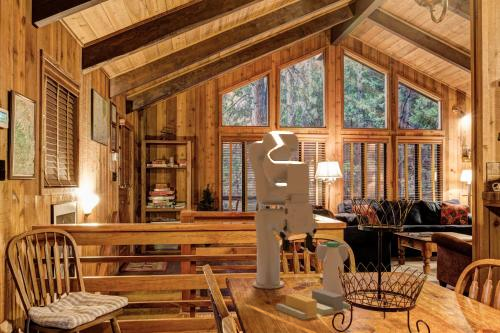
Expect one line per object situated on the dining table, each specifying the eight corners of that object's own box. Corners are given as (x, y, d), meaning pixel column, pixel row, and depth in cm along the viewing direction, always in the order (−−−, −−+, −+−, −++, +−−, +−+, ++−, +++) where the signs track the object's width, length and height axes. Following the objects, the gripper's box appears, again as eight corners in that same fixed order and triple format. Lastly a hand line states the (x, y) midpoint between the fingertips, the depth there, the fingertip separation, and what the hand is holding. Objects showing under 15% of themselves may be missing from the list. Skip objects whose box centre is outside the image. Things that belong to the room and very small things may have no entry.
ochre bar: (285, 308, 156) (285, 294, 156) (295, 306, 158) (295, 293, 158) (306, 316, 146) (306, 301, 146) (316, 314, 148) (316, 300, 148)
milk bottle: (343, 298, 172) (343, 243, 172) (322, 297, 173) (322, 243, 174) (343, 293, 179) (343, 241, 180) (323, 292, 181) (323, 240, 181)
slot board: (276, 311, 155) (276, 303, 155) (324, 302, 166) (324, 295, 166) (302, 322, 143) (302, 314, 143) (353, 312, 154) (352, 304, 154)
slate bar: (311, 303, 161) (311, 290, 161) (320, 302, 163) (320, 289, 163) (333, 311, 152) (333, 297, 152) (343, 309, 154) (342, 295, 154)
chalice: (352, 276, 211) (352, 243, 211) (342, 282, 199) (342, 247, 199) (323, 273, 218) (323, 241, 218) (311, 279, 206) (311, 244, 206)
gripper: (283, 200, 150) (283, 254, 150) (324, 198, 159) (324, 249, 159) (270, 199, 156) (269, 250, 157) (310, 197, 166) (310, 245, 166)
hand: (297, 249), depth 158 cm, fingers open, 9 cm apart
